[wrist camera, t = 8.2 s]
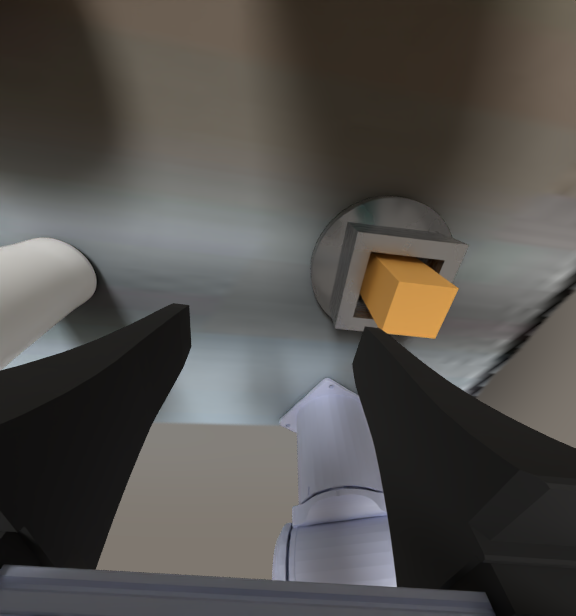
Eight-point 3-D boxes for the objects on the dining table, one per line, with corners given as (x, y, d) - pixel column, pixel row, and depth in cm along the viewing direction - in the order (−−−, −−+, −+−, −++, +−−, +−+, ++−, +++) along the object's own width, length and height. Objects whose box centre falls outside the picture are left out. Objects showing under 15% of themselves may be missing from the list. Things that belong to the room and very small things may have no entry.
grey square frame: (468, 205, 18) (516, 216, 14) (417, 328, 22) (442, 360, 19) (323, 186, 17) (332, 192, 13) (301, 316, 22) (304, 347, 18)
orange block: (409, 252, 18) (458, 288, 13) (395, 291, 19) (435, 338, 14) (366, 247, 18) (399, 281, 13) (356, 287, 19) (380, 332, 14)
